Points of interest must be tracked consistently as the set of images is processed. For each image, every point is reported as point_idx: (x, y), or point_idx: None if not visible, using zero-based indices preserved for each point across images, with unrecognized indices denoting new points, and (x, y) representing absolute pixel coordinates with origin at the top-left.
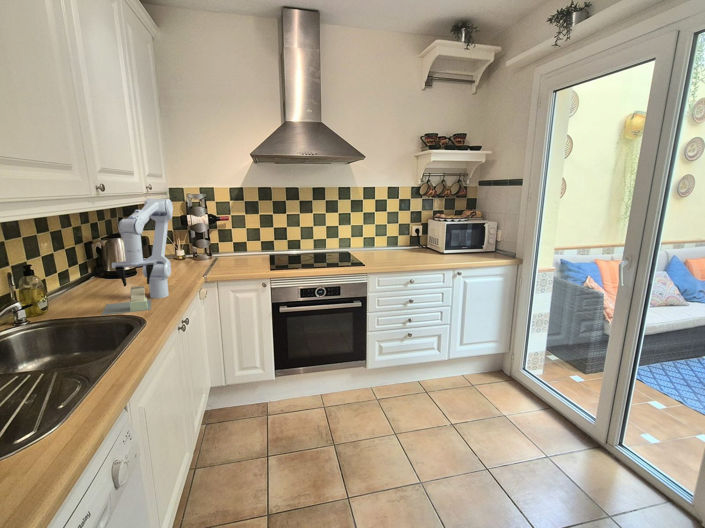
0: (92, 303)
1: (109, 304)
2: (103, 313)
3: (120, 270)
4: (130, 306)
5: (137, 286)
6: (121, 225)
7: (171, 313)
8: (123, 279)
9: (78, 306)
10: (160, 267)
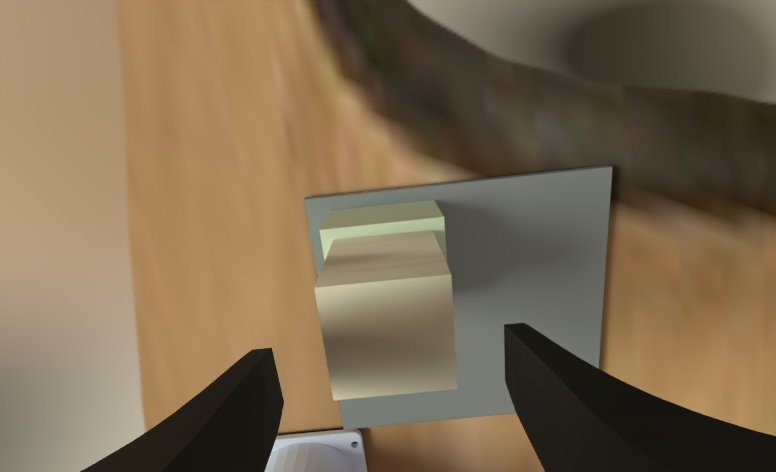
0: None
1: None
2: (600, 211)
3: (752, 469)
4: (436, 209)
5: (395, 392)
6: None
7: (148, 101)
8: (565, 364)
9: None
10: None
